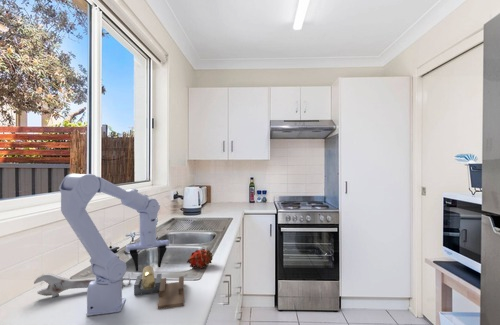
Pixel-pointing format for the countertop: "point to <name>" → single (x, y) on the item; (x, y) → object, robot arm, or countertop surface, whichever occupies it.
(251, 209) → the countertop surface
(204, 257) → the dragon fruit
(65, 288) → the wrench
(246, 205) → the countertop surface
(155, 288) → the v block
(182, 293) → the brown wooden cradle
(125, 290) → the countertop surface
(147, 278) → the brass axle
